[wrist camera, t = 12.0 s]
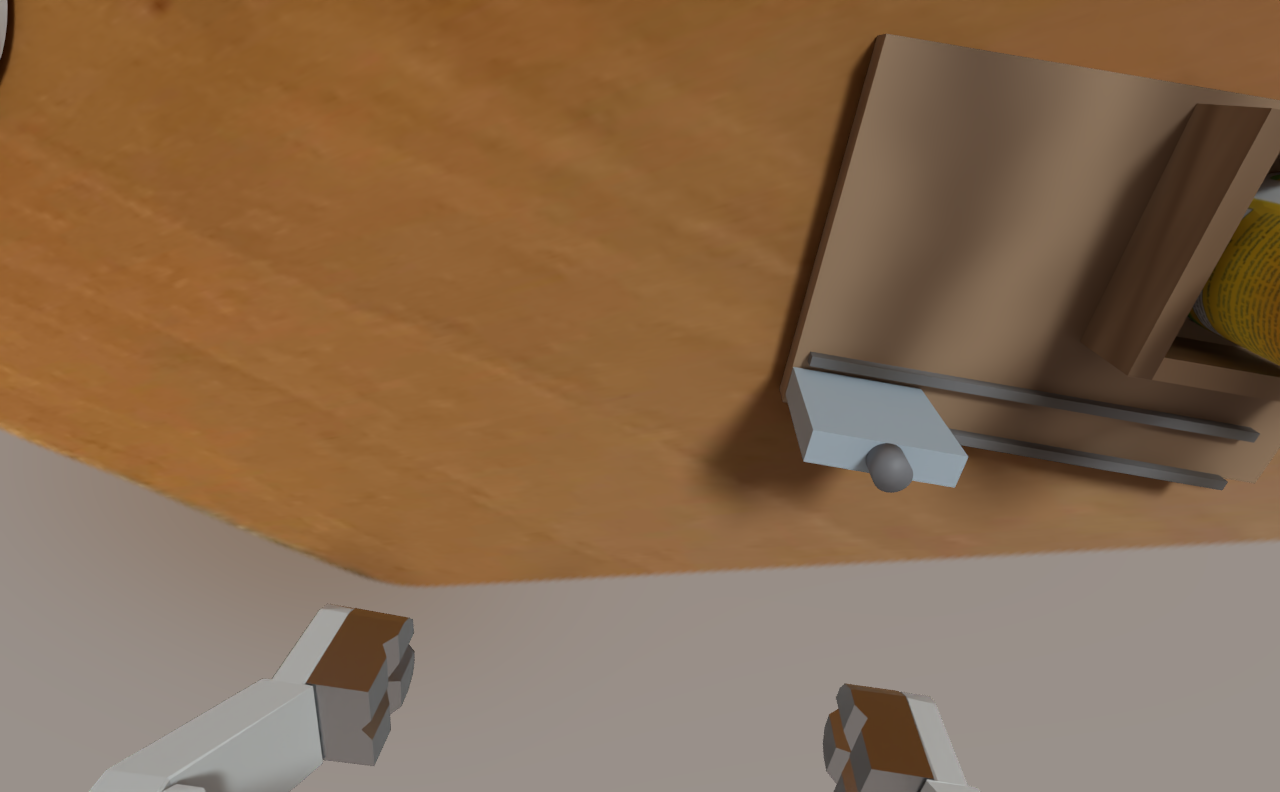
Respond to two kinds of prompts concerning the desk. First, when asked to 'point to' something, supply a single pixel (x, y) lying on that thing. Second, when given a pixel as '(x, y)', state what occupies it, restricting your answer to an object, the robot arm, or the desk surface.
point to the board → (1047, 260)
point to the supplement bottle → (1248, 280)
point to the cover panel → (872, 430)
